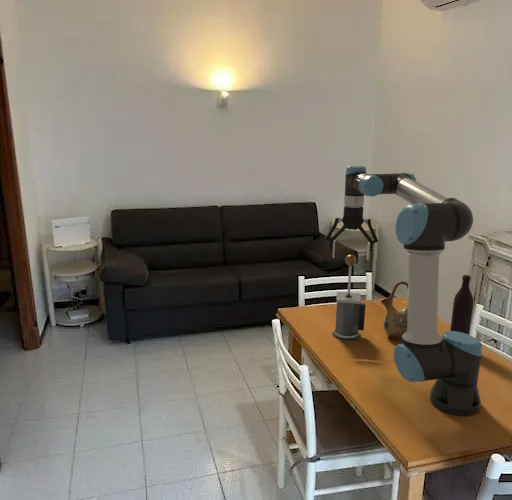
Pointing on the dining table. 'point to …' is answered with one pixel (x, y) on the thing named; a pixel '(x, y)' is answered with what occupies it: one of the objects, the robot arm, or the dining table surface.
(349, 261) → the plunger
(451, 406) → the robot arm
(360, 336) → the trivet
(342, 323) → the french press
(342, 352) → the dining table surface
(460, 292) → the wine bottle
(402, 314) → the ceramic vessel
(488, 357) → the dining table surface
